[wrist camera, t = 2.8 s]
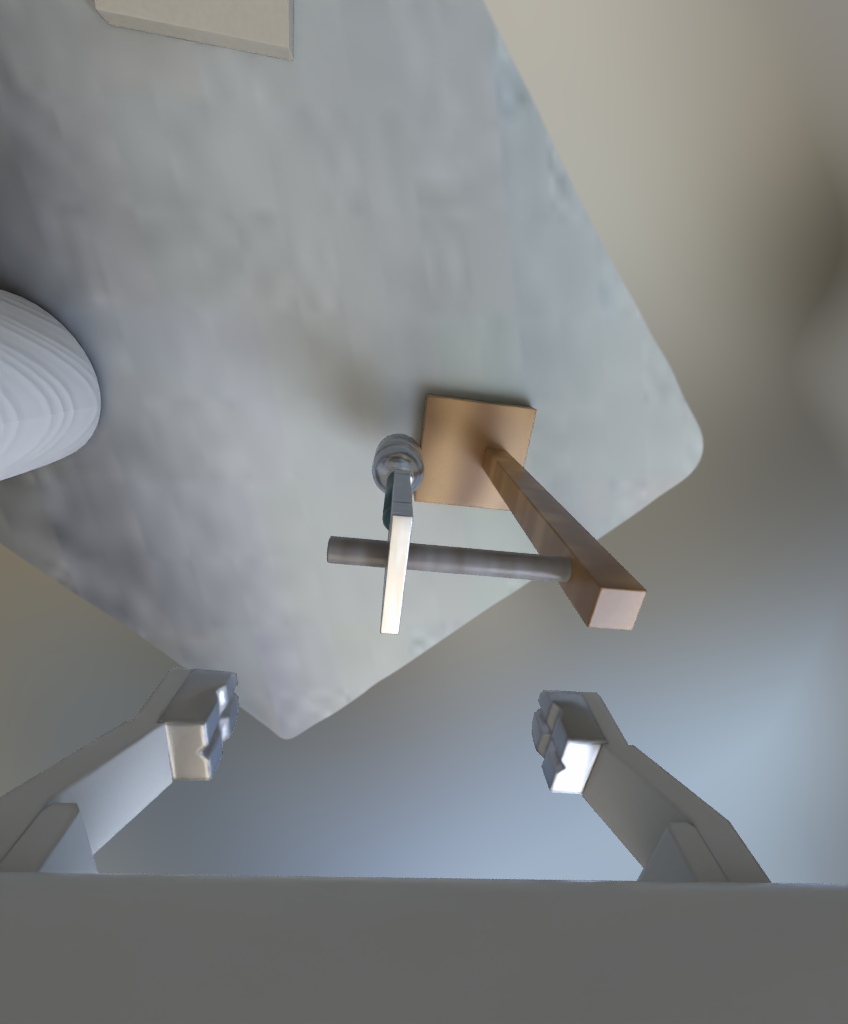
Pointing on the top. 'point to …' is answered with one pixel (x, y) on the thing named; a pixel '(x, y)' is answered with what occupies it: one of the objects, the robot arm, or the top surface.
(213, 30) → the hot plate
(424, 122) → the top surface
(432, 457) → the hook stand
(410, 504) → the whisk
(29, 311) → the vase
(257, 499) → the top surface
